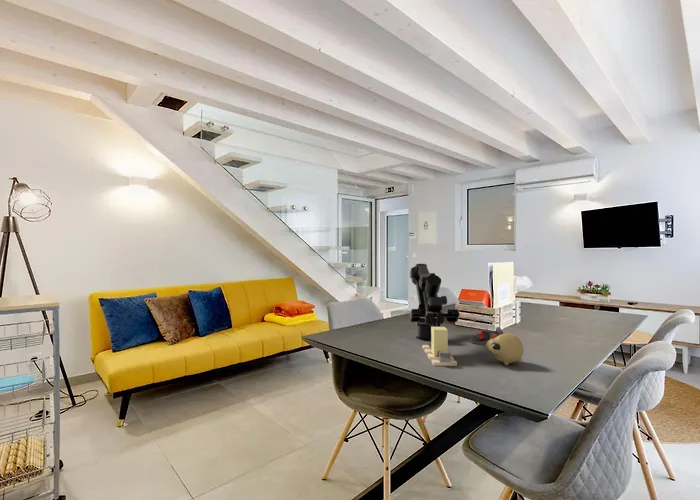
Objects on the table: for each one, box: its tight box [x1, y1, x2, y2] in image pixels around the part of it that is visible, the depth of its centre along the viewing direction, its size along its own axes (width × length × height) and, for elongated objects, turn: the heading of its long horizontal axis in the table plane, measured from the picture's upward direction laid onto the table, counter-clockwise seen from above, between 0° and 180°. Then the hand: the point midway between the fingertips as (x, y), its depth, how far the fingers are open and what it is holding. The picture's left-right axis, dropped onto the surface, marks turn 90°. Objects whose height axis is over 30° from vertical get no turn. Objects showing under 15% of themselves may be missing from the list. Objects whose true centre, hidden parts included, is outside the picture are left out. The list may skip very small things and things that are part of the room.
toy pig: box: [485, 332, 525, 366], centre depth 121 cm, size 10×12×11 cm
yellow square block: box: [430, 326, 449, 356], centre depth 127 cm, size 5×5×10 cm
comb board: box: [422, 341, 458, 367], centre depth 129 cm, size 22×8×4 cm, turn 178°
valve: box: [469, 326, 504, 345], centre depth 145 cm, size 6×26×15 cm
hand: (437, 334), depth 130 cm, fingers closed, pressing on yellow square block
